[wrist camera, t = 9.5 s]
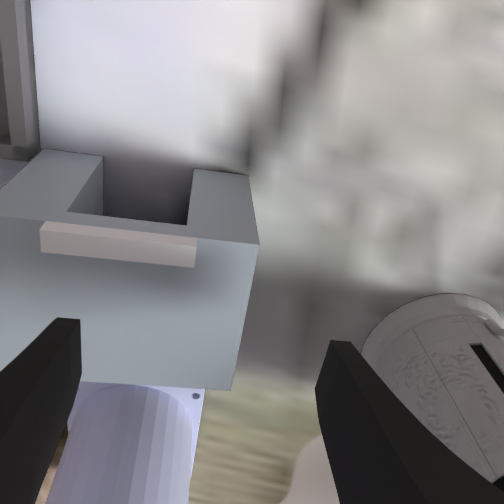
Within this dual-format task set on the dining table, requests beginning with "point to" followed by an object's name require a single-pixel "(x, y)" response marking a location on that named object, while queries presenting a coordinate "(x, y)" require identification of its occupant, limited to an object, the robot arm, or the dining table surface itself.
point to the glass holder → (448, 373)
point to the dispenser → (127, 274)
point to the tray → (17, 83)
